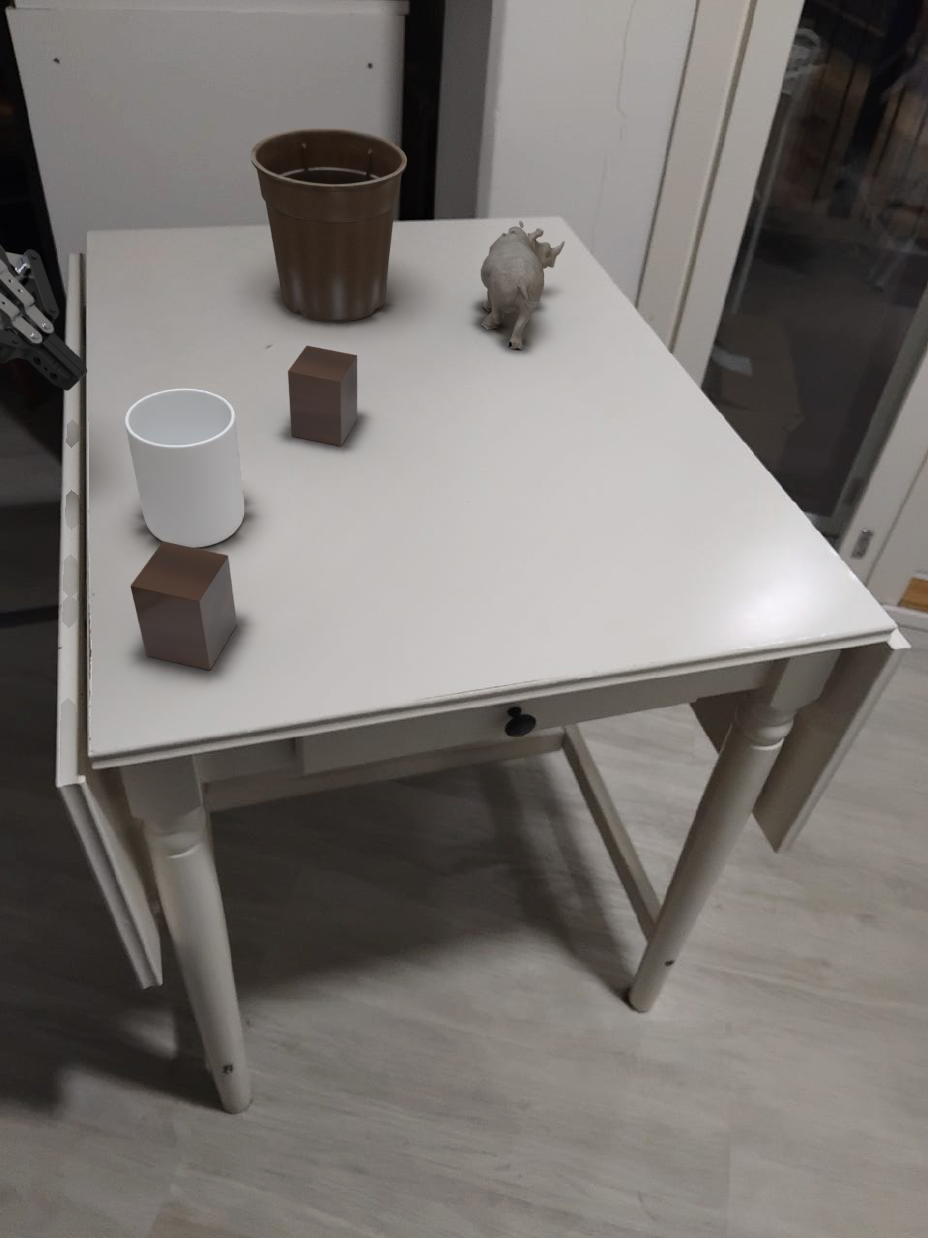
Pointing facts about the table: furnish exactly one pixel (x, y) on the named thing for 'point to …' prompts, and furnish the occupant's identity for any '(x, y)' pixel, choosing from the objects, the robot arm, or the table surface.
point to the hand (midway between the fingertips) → (77, 381)
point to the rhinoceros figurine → (516, 278)
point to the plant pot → (330, 217)
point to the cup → (187, 465)
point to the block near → (185, 605)
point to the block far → (323, 395)
